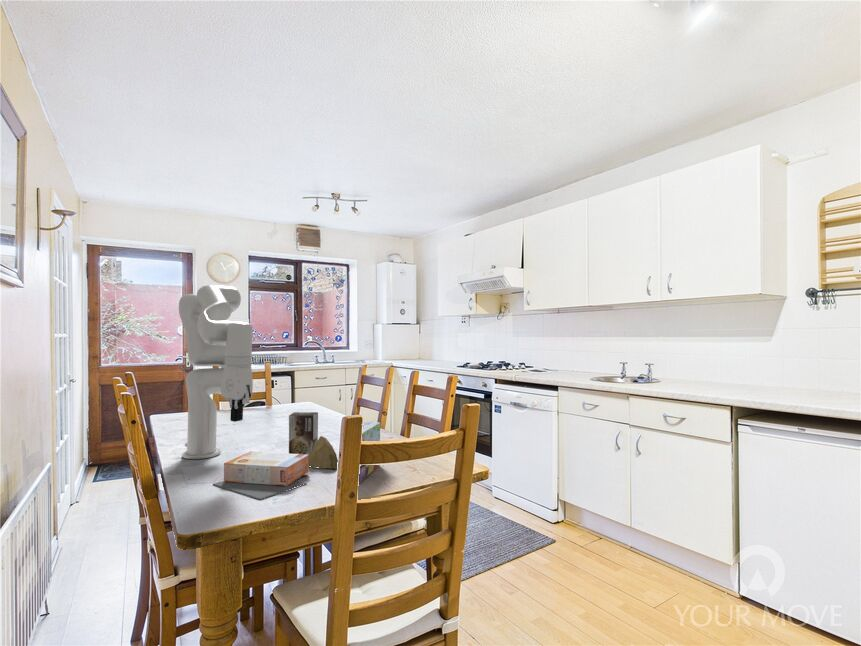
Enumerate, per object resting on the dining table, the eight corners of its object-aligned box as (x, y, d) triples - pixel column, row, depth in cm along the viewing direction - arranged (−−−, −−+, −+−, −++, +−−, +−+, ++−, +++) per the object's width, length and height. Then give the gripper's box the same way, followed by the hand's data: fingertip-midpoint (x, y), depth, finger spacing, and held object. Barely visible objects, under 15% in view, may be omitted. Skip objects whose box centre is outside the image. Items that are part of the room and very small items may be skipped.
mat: (212, 485, 134) (212, 483, 134) (259, 471, 147) (259, 470, 148) (260, 500, 122) (260, 498, 122) (306, 484, 135) (306, 482, 136)
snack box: (359, 485, 135) (360, 434, 135) (342, 484, 136) (342, 433, 136) (380, 465, 156) (381, 421, 156) (364, 464, 157) (365, 420, 157)
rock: (347, 460, 153) (334, 450, 161) (335, 443, 149) (322, 433, 157) (322, 484, 148) (310, 472, 156) (308, 466, 145) (296, 455, 152)
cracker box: (222, 483, 136) (287, 487, 131) (222, 462, 136) (287, 465, 132) (250, 469, 149) (309, 472, 145) (250, 450, 149) (309, 453, 145)
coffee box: (318, 456, 167) (318, 411, 168) (313, 461, 161) (314, 415, 161) (293, 455, 167) (294, 411, 168) (287, 460, 161) (288, 414, 161)
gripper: (213, 360, 143) (211, 419, 143) (242, 364, 135) (240, 426, 135) (234, 359, 149) (233, 415, 149) (264, 363, 141) (262, 422, 141)
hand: (236, 420), depth 142 cm, fingers closed
